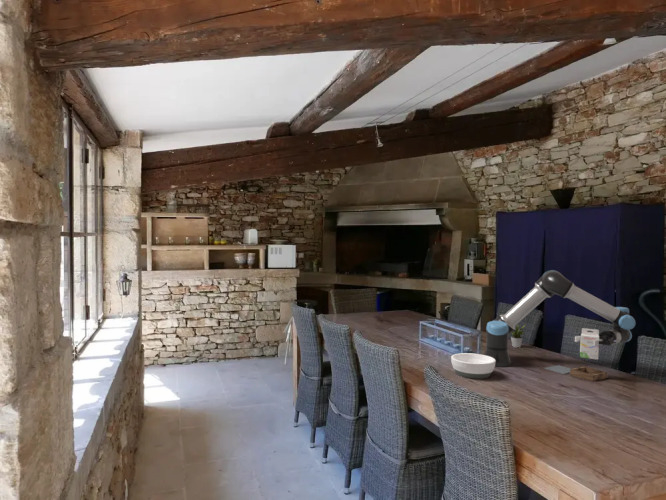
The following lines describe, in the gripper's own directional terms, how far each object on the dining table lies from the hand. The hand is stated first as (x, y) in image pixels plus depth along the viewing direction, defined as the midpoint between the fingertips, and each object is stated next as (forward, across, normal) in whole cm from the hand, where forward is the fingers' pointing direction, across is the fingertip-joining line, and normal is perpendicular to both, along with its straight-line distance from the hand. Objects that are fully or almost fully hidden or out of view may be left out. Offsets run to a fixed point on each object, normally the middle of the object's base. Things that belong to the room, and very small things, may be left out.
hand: (584, 341), depth 253 cm
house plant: (-26, +66, -19) cm, 73 cm away
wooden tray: (-4, 0, -19) cm, 20 cm away
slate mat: (-2, +14, -19) cm, 24 cm away
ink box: (-4, 0, -9) cm, 10 cm away
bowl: (+47, +31, -20) cm, 60 cm away
